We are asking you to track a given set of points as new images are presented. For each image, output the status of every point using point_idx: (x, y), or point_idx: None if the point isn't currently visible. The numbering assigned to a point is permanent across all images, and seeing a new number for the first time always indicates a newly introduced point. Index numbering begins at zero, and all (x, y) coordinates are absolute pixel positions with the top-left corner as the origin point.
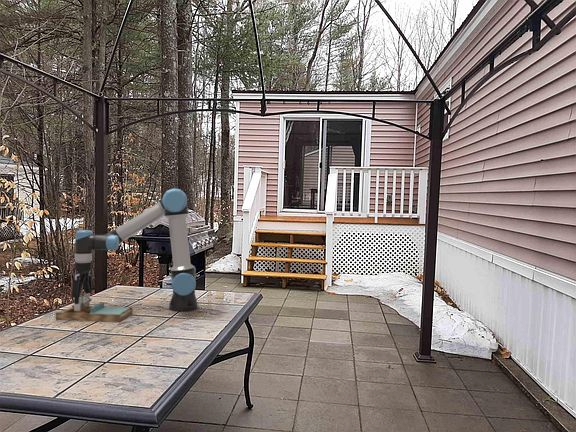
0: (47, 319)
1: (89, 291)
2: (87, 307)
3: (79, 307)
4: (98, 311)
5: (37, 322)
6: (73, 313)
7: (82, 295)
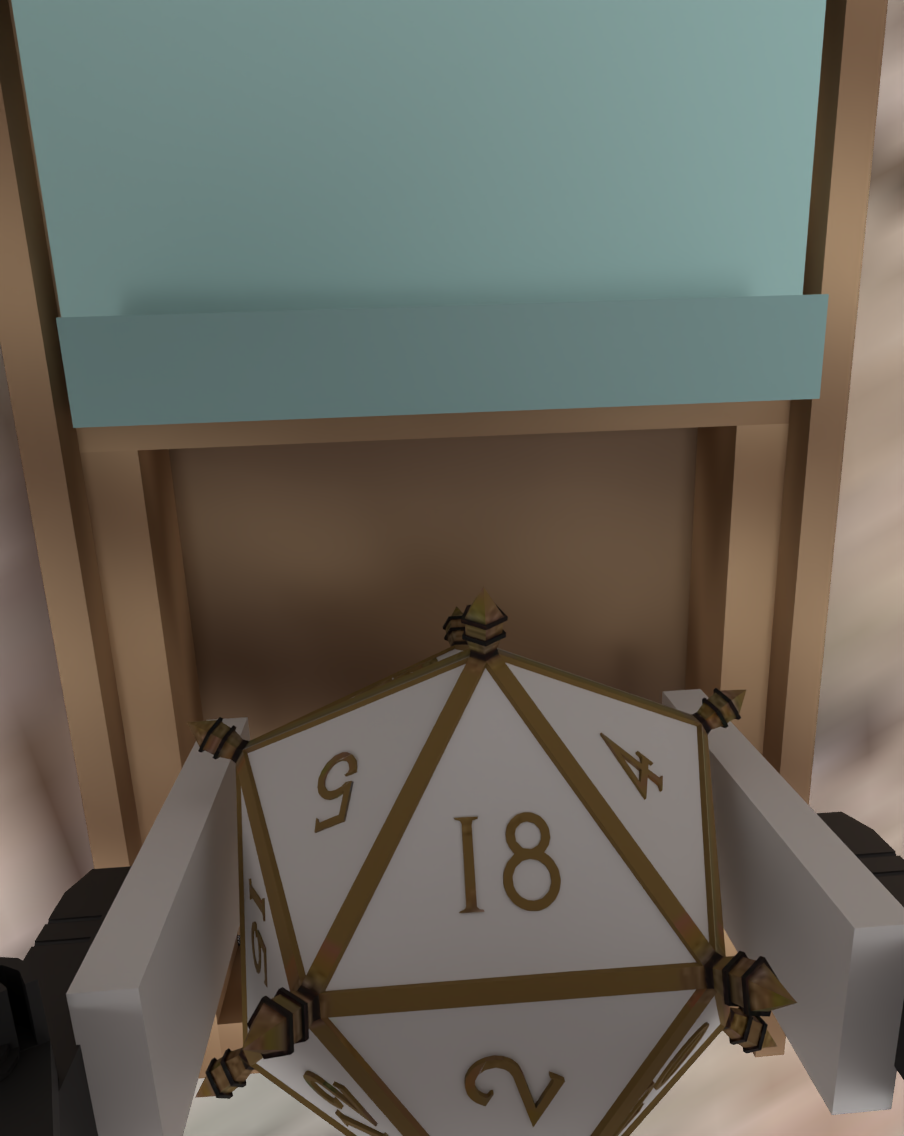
0: (723, 1058)
1: (37, 1079)
2: (465, 642)
3: (735, 732)
4: (595, 248)
5: (896, 1078)
6: (814, 732)
7: (728, 966)
